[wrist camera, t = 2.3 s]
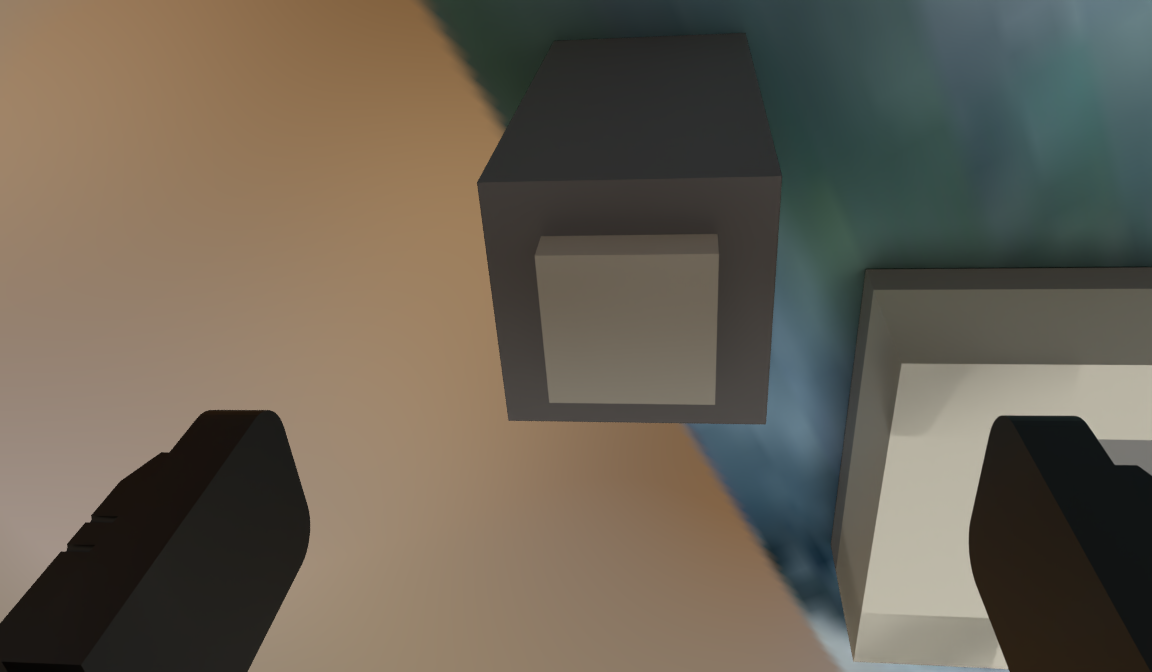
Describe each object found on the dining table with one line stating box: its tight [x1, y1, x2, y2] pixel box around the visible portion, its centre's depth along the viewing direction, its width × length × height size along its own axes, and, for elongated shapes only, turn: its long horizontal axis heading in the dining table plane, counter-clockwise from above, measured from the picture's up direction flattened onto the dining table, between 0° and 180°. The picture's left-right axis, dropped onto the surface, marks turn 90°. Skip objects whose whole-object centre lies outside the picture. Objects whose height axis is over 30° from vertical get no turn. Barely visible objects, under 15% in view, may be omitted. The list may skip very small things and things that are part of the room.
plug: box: [477, 33, 782, 424], centre depth 15 cm, size 4×4×9 cm
